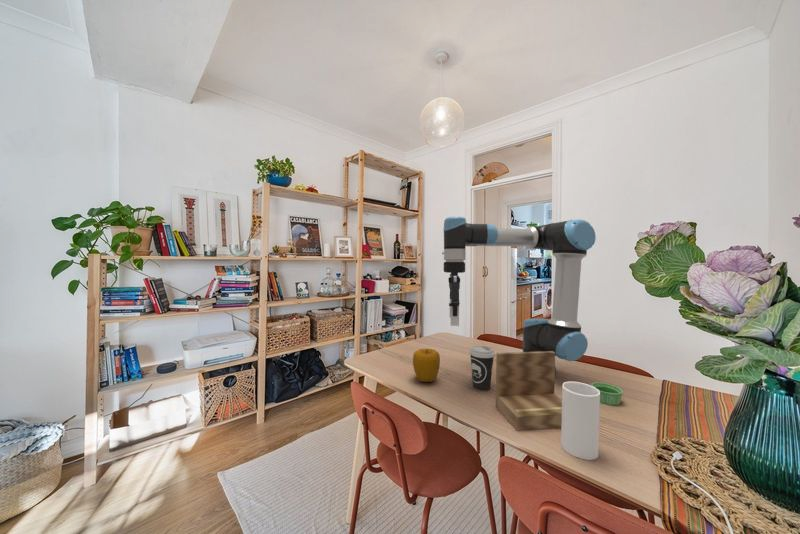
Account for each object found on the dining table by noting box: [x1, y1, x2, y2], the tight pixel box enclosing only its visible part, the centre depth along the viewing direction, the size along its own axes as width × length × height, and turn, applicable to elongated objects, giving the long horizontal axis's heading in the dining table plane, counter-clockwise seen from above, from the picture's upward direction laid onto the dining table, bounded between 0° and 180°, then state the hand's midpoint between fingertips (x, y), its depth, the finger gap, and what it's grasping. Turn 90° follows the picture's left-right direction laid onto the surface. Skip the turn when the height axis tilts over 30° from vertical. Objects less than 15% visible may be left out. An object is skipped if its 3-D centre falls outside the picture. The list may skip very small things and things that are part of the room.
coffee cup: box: [468, 344, 496, 392], centre depth 109 cm, size 10×10×15 cm
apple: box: [412, 348, 441, 383], centre depth 115 cm, size 11×11×13 cm
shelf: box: [495, 351, 562, 431], centre depth 89 cm, size 20×14×18 cm
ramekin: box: [590, 381, 624, 406], centre depth 100 cm, size 9×9×4 cm
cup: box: [560, 381, 601, 461], centre depth 74 cm, size 8×8×16 cm
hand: (453, 321), depth 101 cm, fingers open, 13 cm apart
